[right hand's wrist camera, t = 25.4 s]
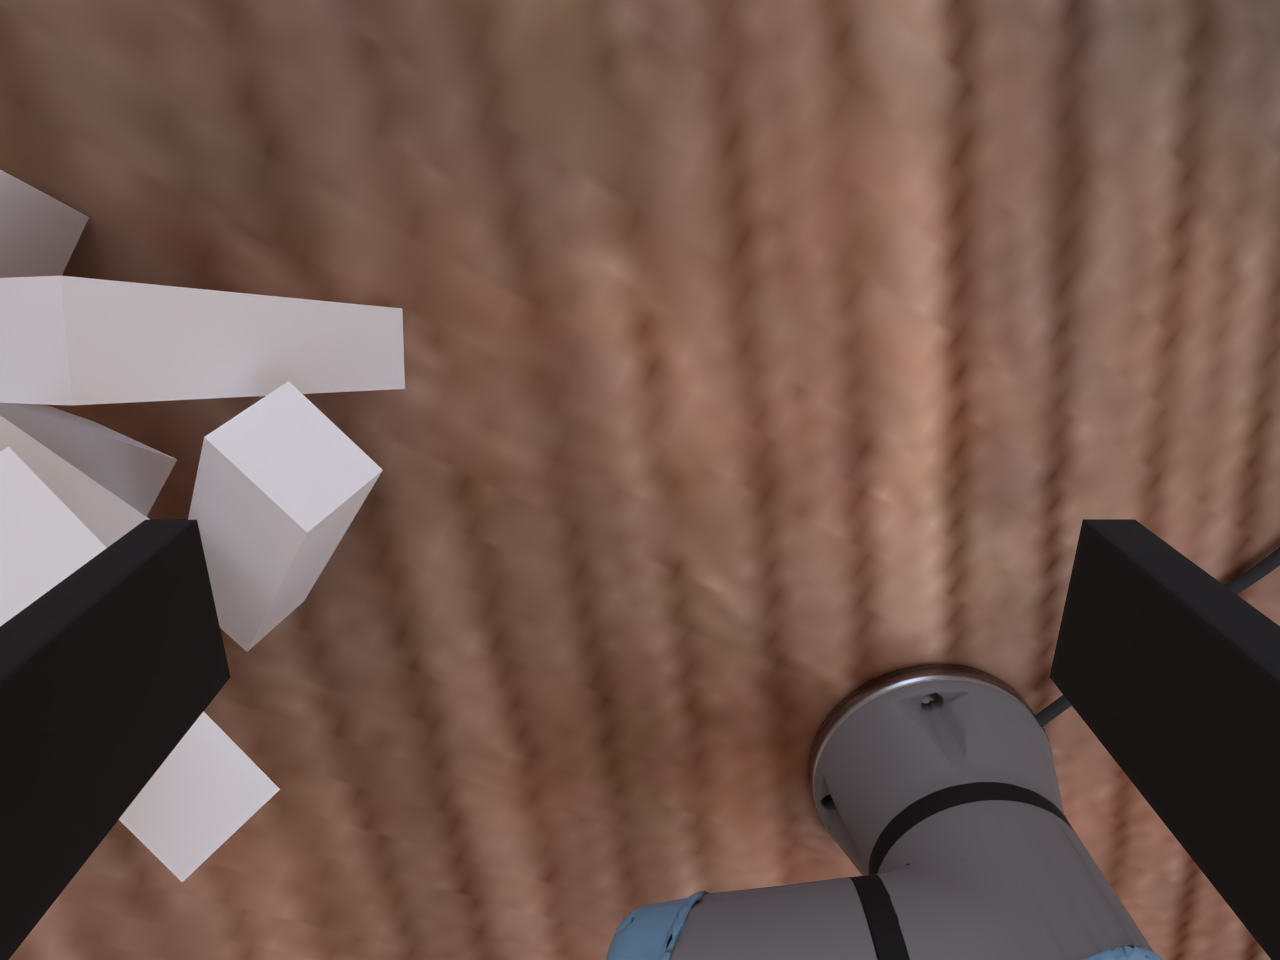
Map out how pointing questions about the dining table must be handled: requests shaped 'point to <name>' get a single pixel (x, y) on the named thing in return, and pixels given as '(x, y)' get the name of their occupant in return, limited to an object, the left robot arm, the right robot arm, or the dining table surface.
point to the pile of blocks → (135, 473)
